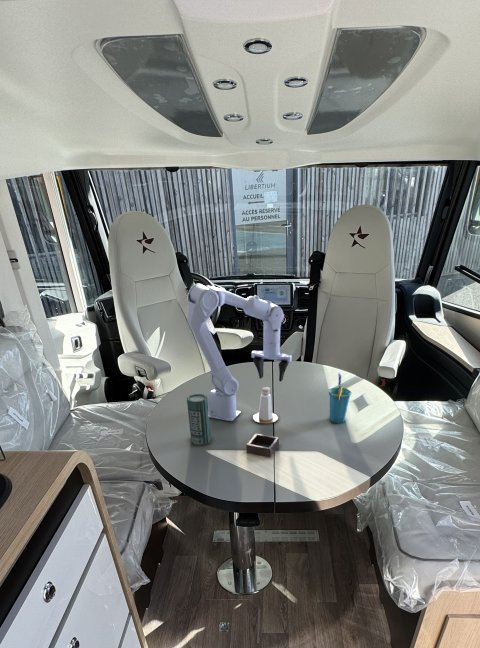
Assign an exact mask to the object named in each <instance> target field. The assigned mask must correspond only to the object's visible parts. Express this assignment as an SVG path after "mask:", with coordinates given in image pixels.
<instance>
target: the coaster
mask: <svg viewBox="0 0 480 648" xmlns="http://www.w3.org/2000/svg"><path fill="white" fill-rule="evenodd" d="M272 415H273V418H272V419H270V420H261V419H259V412H257V413H255V414H254V415H253V416H252V420H253V421H254V422H255V423H256V424H261V425H271V424H274V423H276V422H277V421H278V420H279V416H278V415H277V414H276V413H274V412H272Z"/></svg>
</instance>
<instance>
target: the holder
mask: <svg viewBox="0 0 480 648" xmlns="http://www.w3.org/2000/svg"><path fill="white" fill-rule="evenodd" d="M257 444H261V445H257ZM262 445H266V446H262ZM245 446H246V449H245V450H246V454H250V455H255V456H260V457H265V458H271V457H272V456H273V455H274V454H275V452H276V451H277V449H278V448H279V446H280V437H278V436H274V435H273V436H272V435H266V434H261V433H255V434H254V435H253V436H252V437H251V439H249V441H248V442H247V443H246V445H245ZM267 446H269V447H267Z"/></svg>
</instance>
